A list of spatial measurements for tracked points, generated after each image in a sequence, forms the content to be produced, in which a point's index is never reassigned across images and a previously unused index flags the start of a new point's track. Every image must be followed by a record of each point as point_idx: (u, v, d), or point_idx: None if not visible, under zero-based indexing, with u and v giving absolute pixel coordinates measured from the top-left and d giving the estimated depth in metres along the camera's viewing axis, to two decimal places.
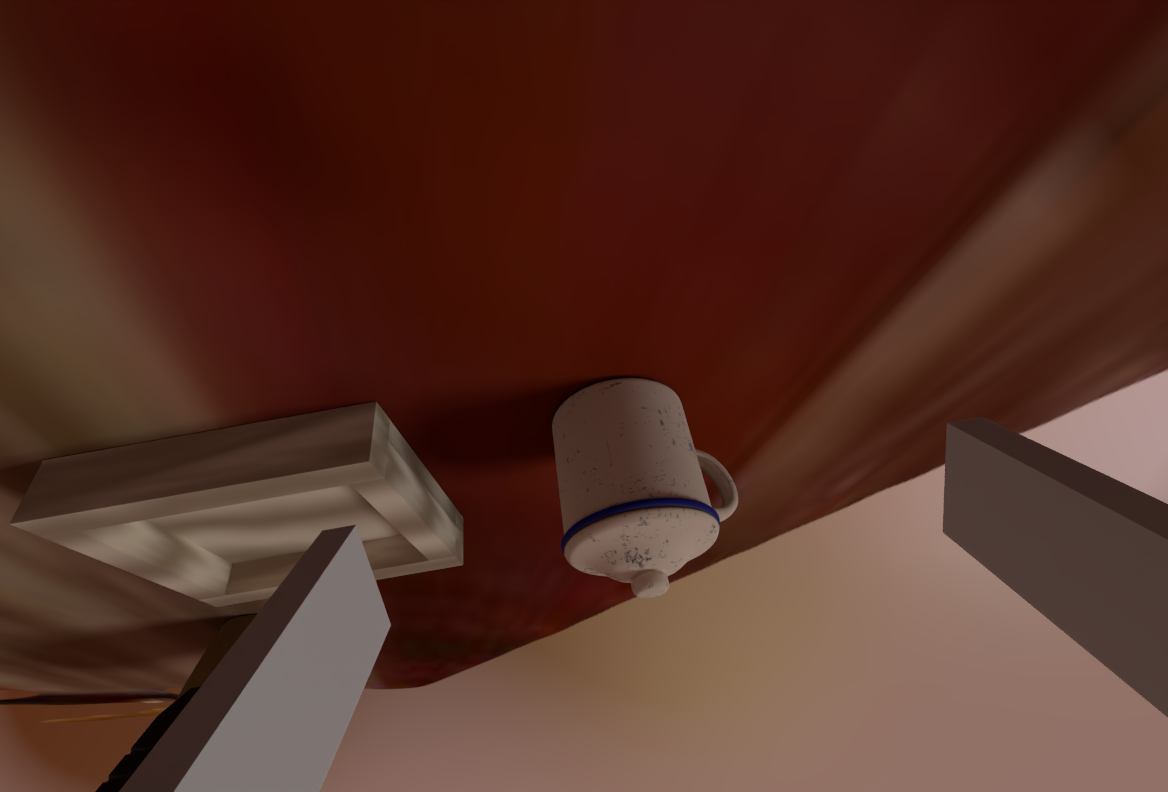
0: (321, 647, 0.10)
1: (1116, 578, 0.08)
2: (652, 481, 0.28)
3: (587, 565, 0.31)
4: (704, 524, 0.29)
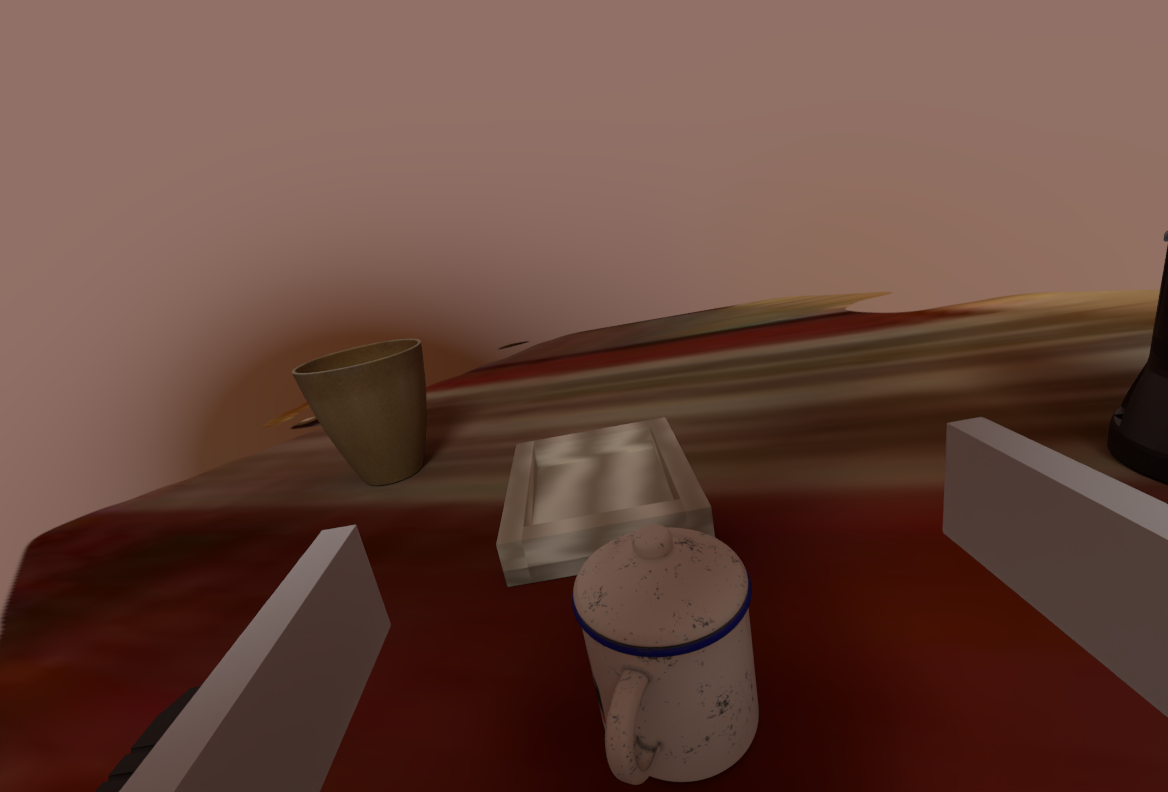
0: (321, 647, 0.10)
1: (1116, 578, 0.08)
2: None
3: None
4: (720, 609, 0.25)
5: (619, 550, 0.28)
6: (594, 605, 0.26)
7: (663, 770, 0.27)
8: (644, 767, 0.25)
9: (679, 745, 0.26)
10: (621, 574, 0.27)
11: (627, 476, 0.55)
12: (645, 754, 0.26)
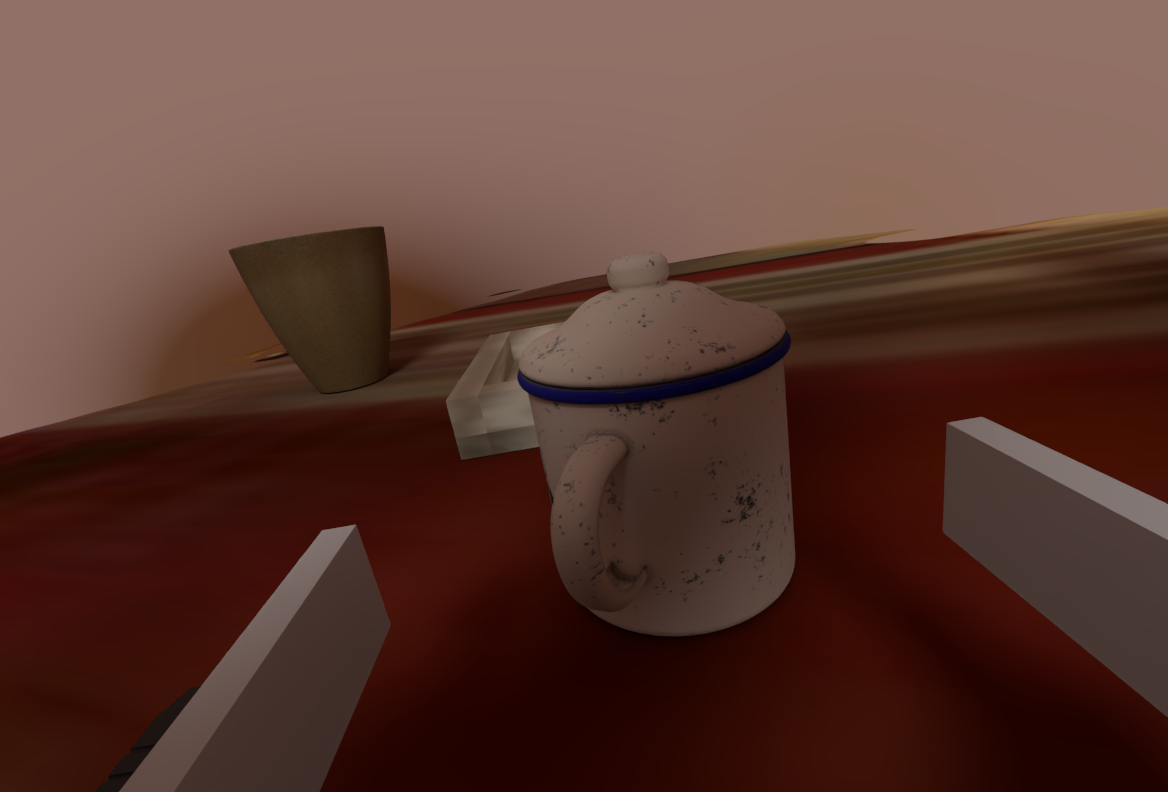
0: (321, 647, 0.10)
1: (1116, 578, 0.08)
2: None
3: None
4: (744, 336, 0.15)
5: None
6: (545, 354, 0.17)
7: (652, 617, 0.17)
8: None
9: (677, 571, 0.17)
10: (589, 311, 0.17)
11: None
12: (623, 587, 0.17)
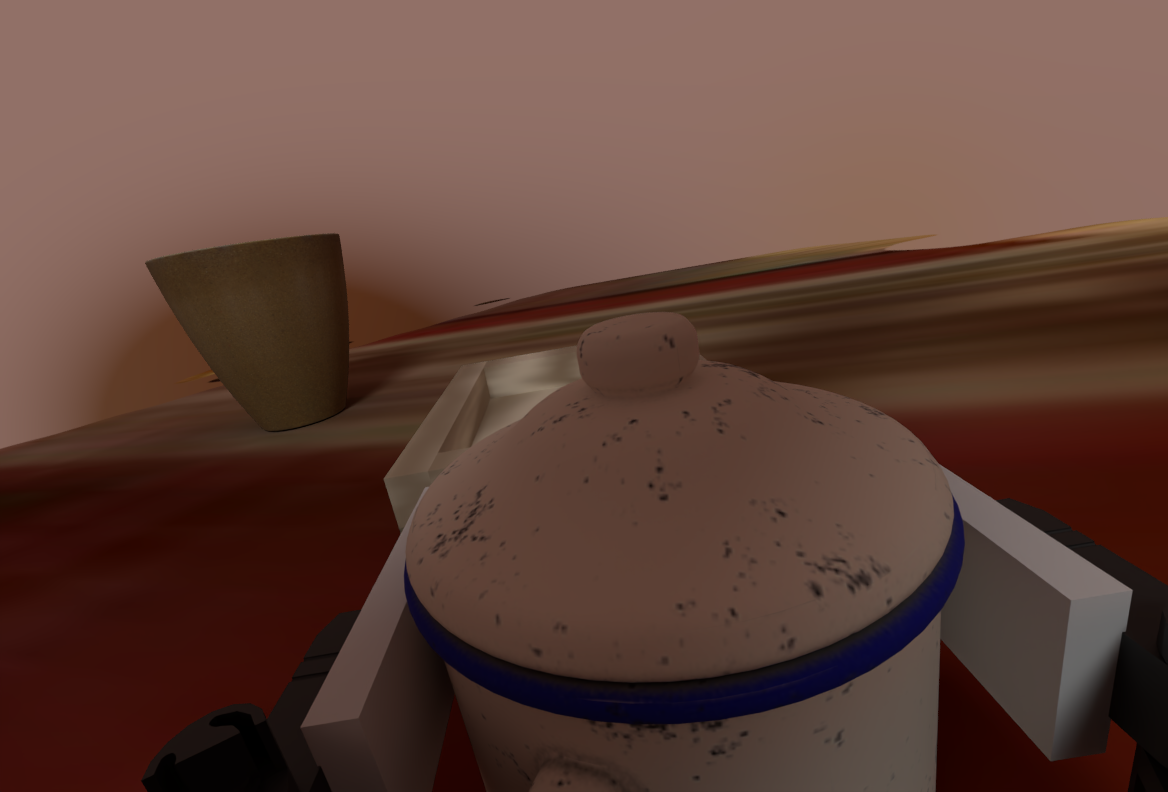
0: None
1: None
2: None
3: None
4: (898, 529, 0.07)
5: (545, 398, 0.10)
6: (450, 540, 0.08)
7: None
8: None
9: None
10: (541, 442, 0.08)
11: None
12: None
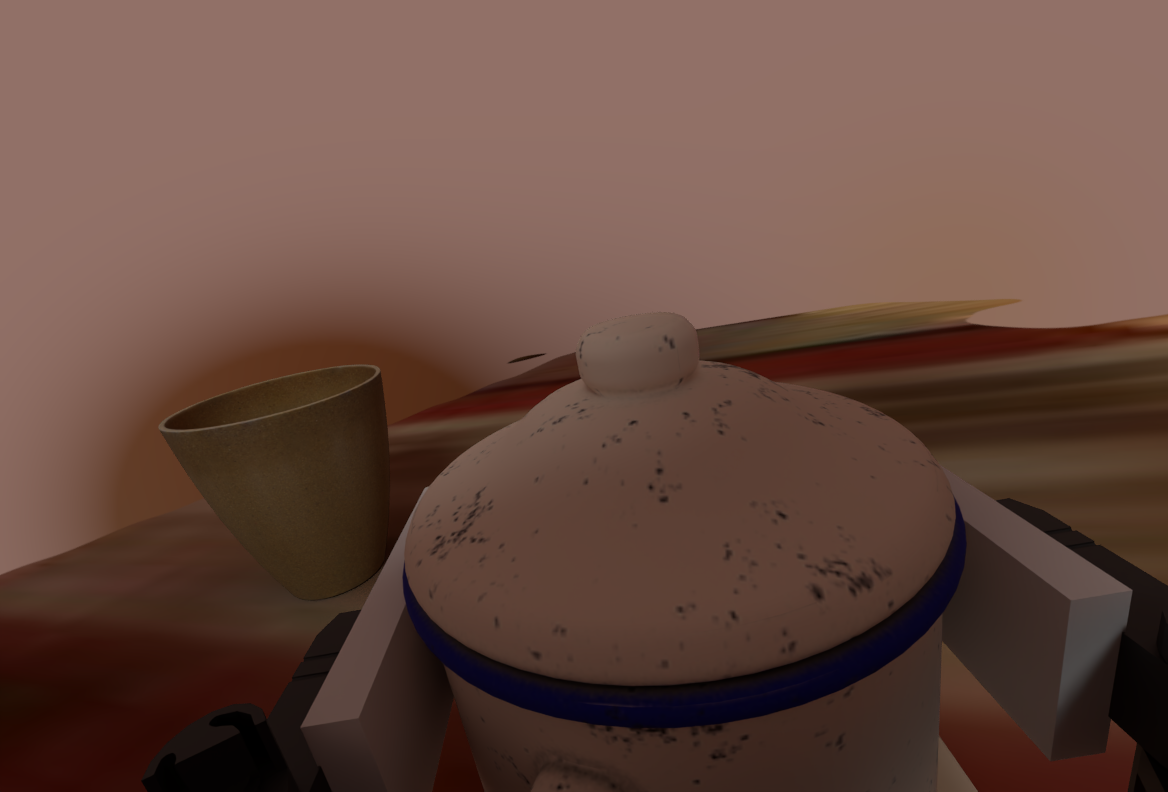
0: None
1: None
2: None
3: None
4: (900, 531, 0.06)
5: (544, 399, 0.10)
6: (449, 542, 0.08)
7: None
8: None
9: None
10: (541, 443, 0.08)
11: None
12: None
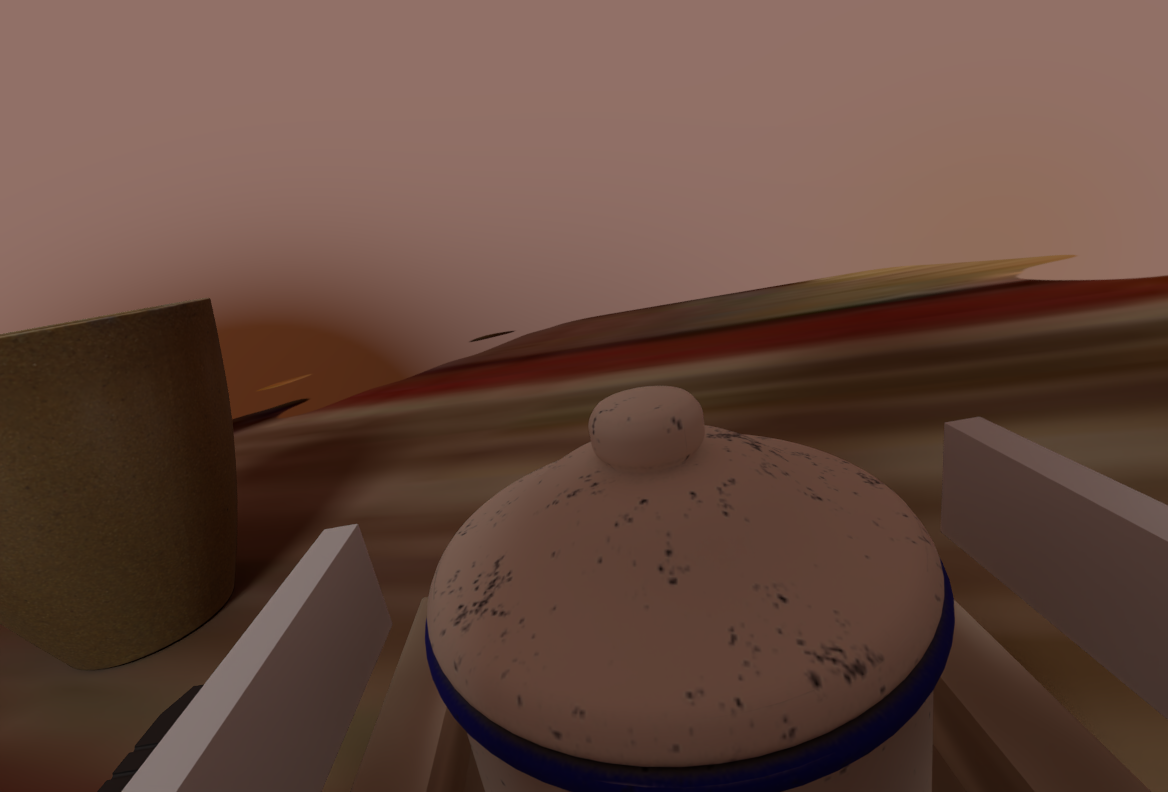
0: (323, 646, 0.10)
1: (1112, 577, 0.08)
2: None
3: None
4: (891, 616, 0.07)
5: (557, 464, 0.10)
6: (471, 613, 0.08)
7: None
8: None
9: None
10: (557, 517, 0.09)
11: None
12: None
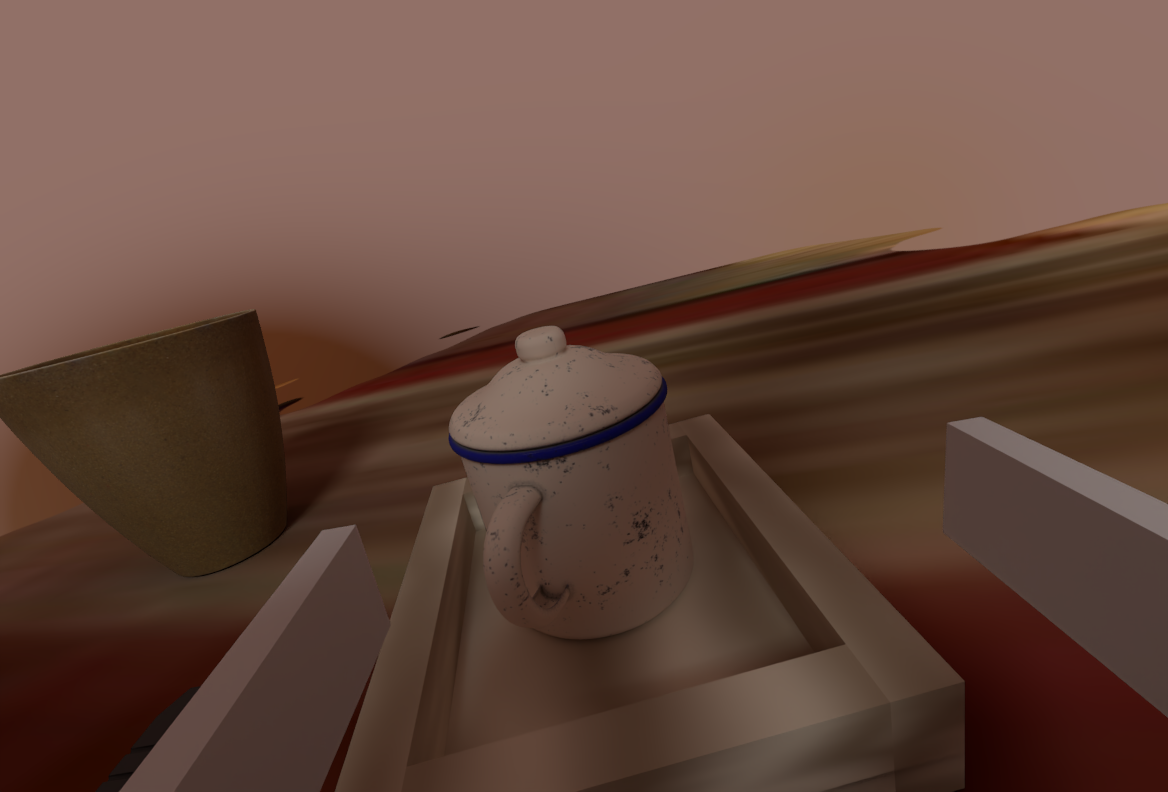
0: (321, 647, 0.10)
1: (1116, 578, 0.08)
2: None
3: None
4: (624, 397, 0.19)
5: (503, 367, 0.22)
6: (469, 421, 0.20)
7: (578, 625, 0.21)
8: None
9: (593, 586, 0.20)
10: (502, 382, 0.21)
11: None
12: (551, 604, 0.20)
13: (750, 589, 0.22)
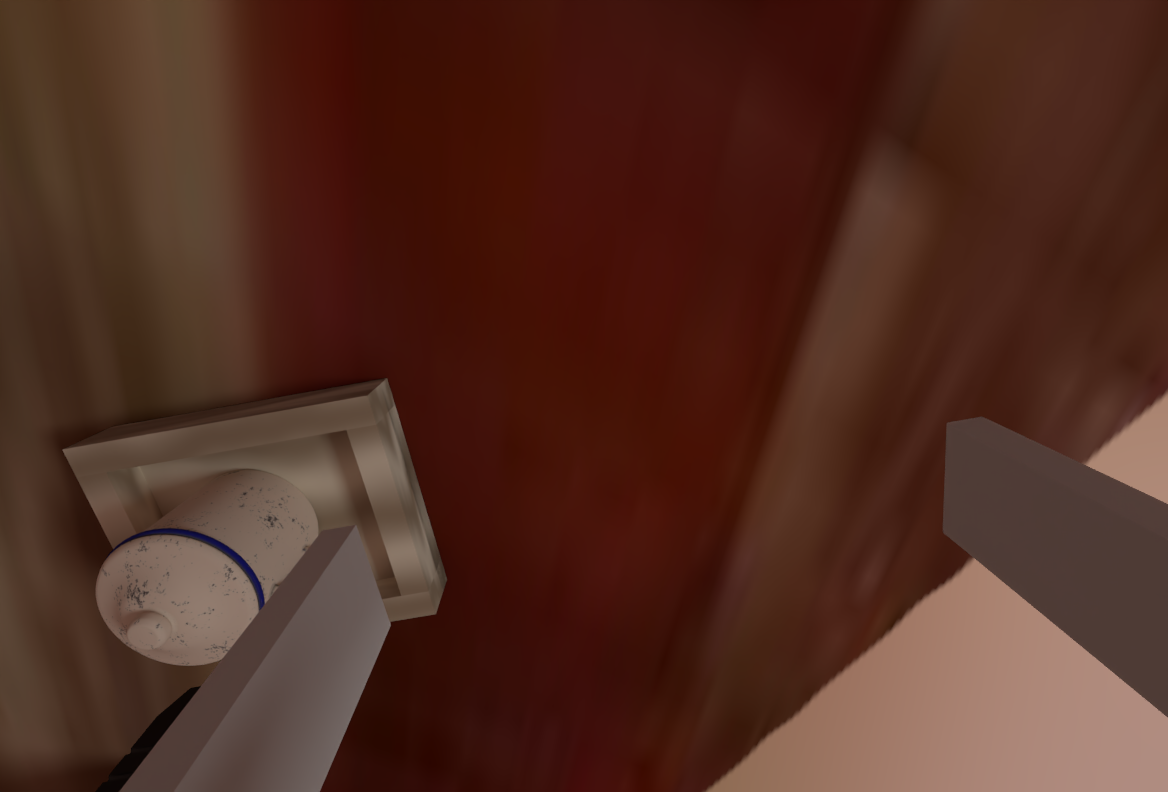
0: (321, 647, 0.10)
1: (1116, 578, 0.08)
2: (183, 521, 0.32)
3: (115, 622, 0.31)
4: (212, 561, 0.30)
5: (159, 648, 0.30)
6: (225, 648, 0.32)
7: (314, 534, 0.39)
8: None
9: (301, 535, 0.37)
10: (192, 642, 0.30)
11: None
12: None
13: (280, 441, 0.38)
